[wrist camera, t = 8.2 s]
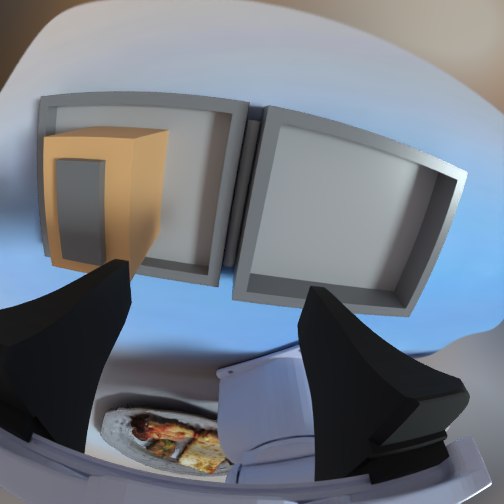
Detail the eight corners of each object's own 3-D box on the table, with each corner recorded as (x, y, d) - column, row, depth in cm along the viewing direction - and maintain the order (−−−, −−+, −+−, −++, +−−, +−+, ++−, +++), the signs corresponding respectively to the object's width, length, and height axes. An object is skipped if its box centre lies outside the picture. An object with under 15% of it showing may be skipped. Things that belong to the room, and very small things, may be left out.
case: (442, 162, 18) (467, 172, 15) (393, 294, 23) (409, 317, 20) (264, 107, 16) (268, 105, 13) (233, 274, 22) (232, 300, 19)
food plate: (115, 371, 27) (106, 397, 24) (296, 423, 32) (299, 446, 29) (100, 437, 37) (95, 453, 34) (220, 471, 43) (220, 487, 40)
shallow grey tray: (263, 106, 16) (265, 105, 14) (232, 273, 22) (231, 289, 20) (56, 96, 15) (40, 96, 13) (57, 244, 20) (44, 256, 18)
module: (168, 129, 16) (128, 140, 10) (159, 234, 19) (126, 288, 13) (97, 126, 15) (36, 138, 10) (95, 224, 18) (46, 271, 13)
